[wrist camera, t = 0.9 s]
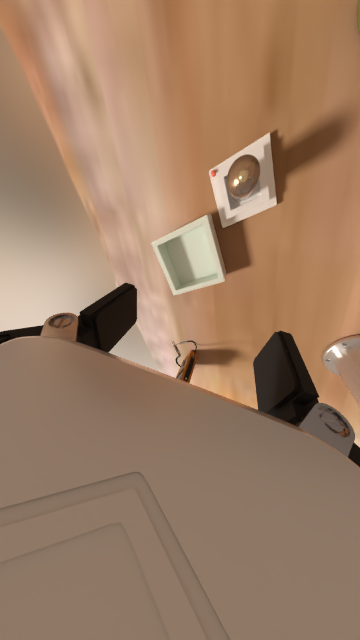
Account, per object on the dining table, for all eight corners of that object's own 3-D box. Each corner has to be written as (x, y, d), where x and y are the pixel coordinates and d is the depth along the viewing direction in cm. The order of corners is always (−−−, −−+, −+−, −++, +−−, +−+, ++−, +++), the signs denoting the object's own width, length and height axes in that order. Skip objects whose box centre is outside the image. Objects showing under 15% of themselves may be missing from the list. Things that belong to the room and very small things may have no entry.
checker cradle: (268, 135, 23) (271, 127, 21) (275, 205, 26) (278, 204, 24) (209, 172, 27) (207, 168, 25) (223, 228, 31) (221, 229, 29)
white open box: (211, 214, 30) (206, 214, 26) (226, 273, 35) (224, 281, 31) (160, 239, 35) (150, 242, 32) (180, 287, 40) (173, 295, 36)
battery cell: (252, 167, 24) (257, 143, 16) (256, 194, 26) (263, 185, 18) (228, 180, 26) (222, 165, 18) (233, 205, 27) (230, 201, 20)
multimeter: (176, 331, 49) (146, 386, 33) (204, 347, 49) (186, 409, 33) (162, 356, 58) (133, 408, 43) (185, 369, 58) (164, 426, 42)
